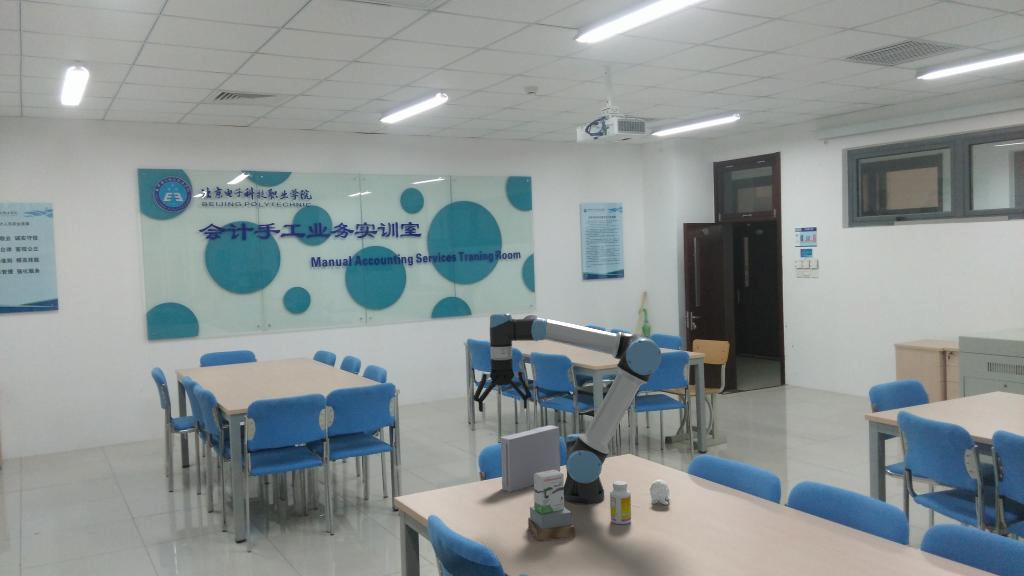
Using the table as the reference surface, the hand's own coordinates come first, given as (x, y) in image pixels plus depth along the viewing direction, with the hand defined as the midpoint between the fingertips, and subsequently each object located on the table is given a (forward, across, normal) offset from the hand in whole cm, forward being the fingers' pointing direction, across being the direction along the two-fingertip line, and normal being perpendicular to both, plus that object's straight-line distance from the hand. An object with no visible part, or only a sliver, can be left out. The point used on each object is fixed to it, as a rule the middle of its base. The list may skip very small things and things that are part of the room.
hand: (503, 419), depth 262 cm
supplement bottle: (+32, +34, -22) cm, 52 cm away
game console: (+32, +16, +28) cm, 46 cm away
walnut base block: (+32, +9, -25) cm, 42 cm away
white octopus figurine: (+32, +55, -7) cm, 64 cm away
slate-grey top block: (+28, +9, -25) cm, 39 cm away
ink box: (+24, +9, -25) cm, 36 cm away
